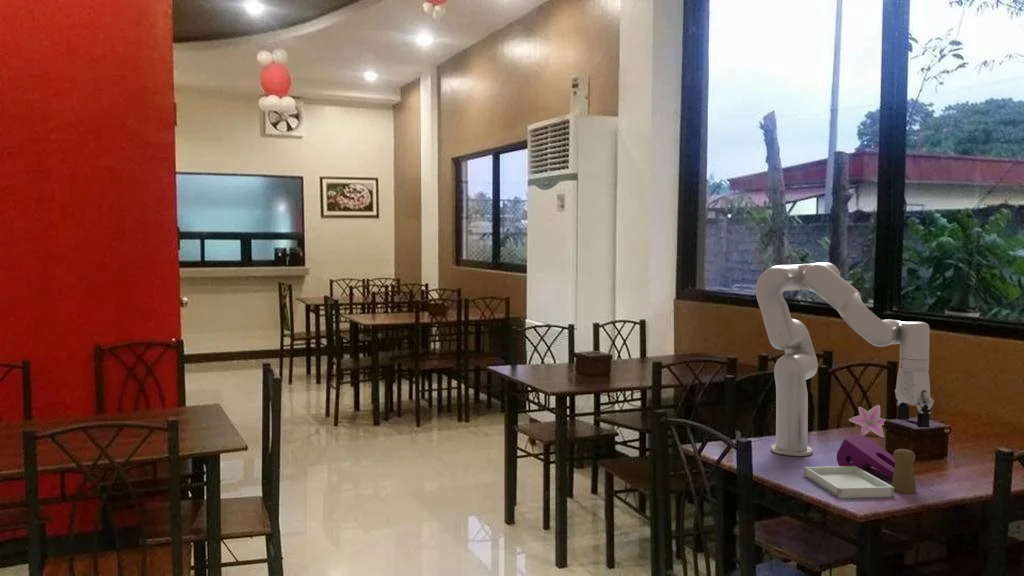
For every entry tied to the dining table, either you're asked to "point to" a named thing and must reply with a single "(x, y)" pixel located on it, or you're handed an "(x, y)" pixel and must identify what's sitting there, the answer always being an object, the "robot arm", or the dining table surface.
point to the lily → (869, 420)
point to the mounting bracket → (865, 455)
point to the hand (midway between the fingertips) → (913, 423)
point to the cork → (904, 472)
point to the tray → (849, 482)
